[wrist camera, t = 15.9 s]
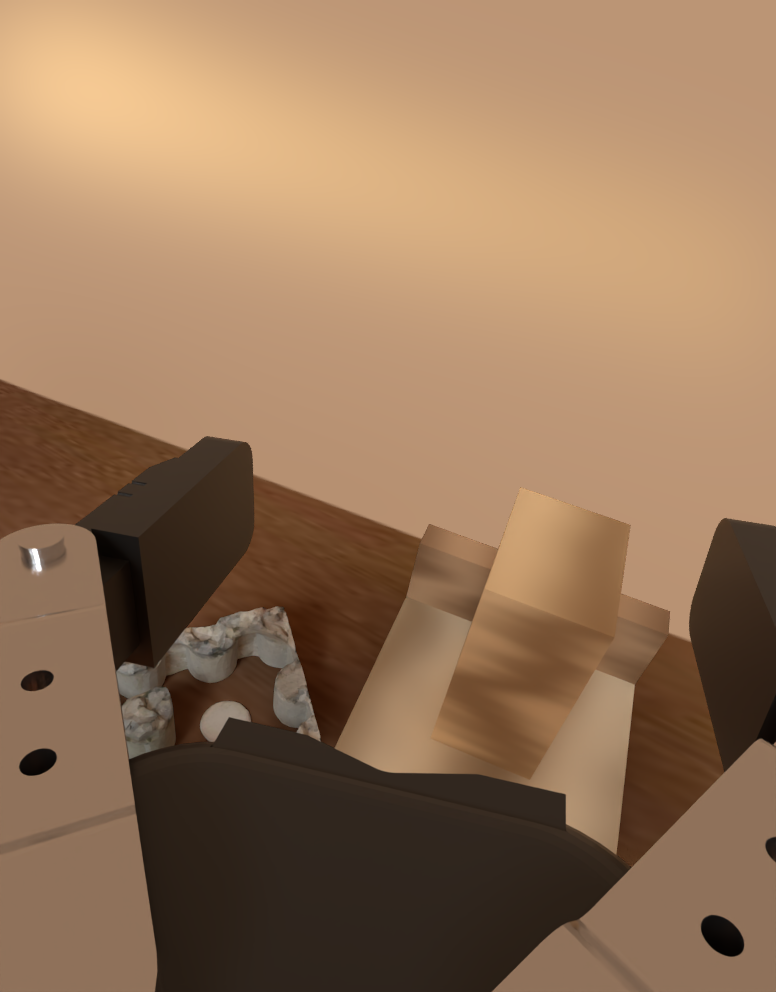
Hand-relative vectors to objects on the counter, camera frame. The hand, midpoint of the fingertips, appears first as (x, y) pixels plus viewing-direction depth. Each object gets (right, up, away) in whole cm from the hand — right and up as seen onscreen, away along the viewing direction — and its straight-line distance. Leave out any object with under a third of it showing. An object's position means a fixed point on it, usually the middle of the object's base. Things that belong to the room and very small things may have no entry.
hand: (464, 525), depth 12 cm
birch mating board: (+3, -11, +21) cm, 24 cm away
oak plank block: (+4, -9, +20) cm, 22 cm away
